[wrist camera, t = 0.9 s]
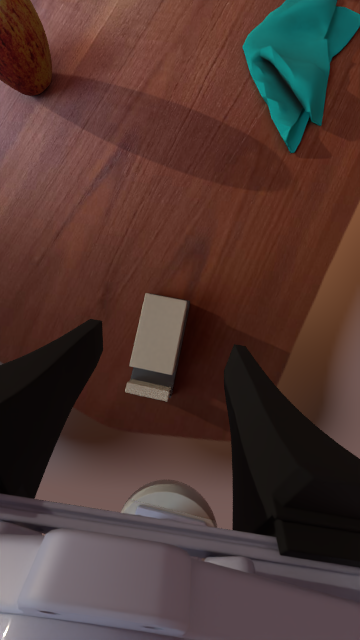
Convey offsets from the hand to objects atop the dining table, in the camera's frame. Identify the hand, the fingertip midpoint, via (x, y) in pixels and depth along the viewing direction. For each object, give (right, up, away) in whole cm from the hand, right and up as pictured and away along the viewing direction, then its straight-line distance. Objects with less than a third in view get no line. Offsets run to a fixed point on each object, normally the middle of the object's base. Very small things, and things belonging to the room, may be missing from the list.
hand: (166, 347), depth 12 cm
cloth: (+16, +36, +18) cm, 43 cm away
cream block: (-1, -1, +14) cm, 14 cm away
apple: (-20, +35, +19) cm, 44 cm away
